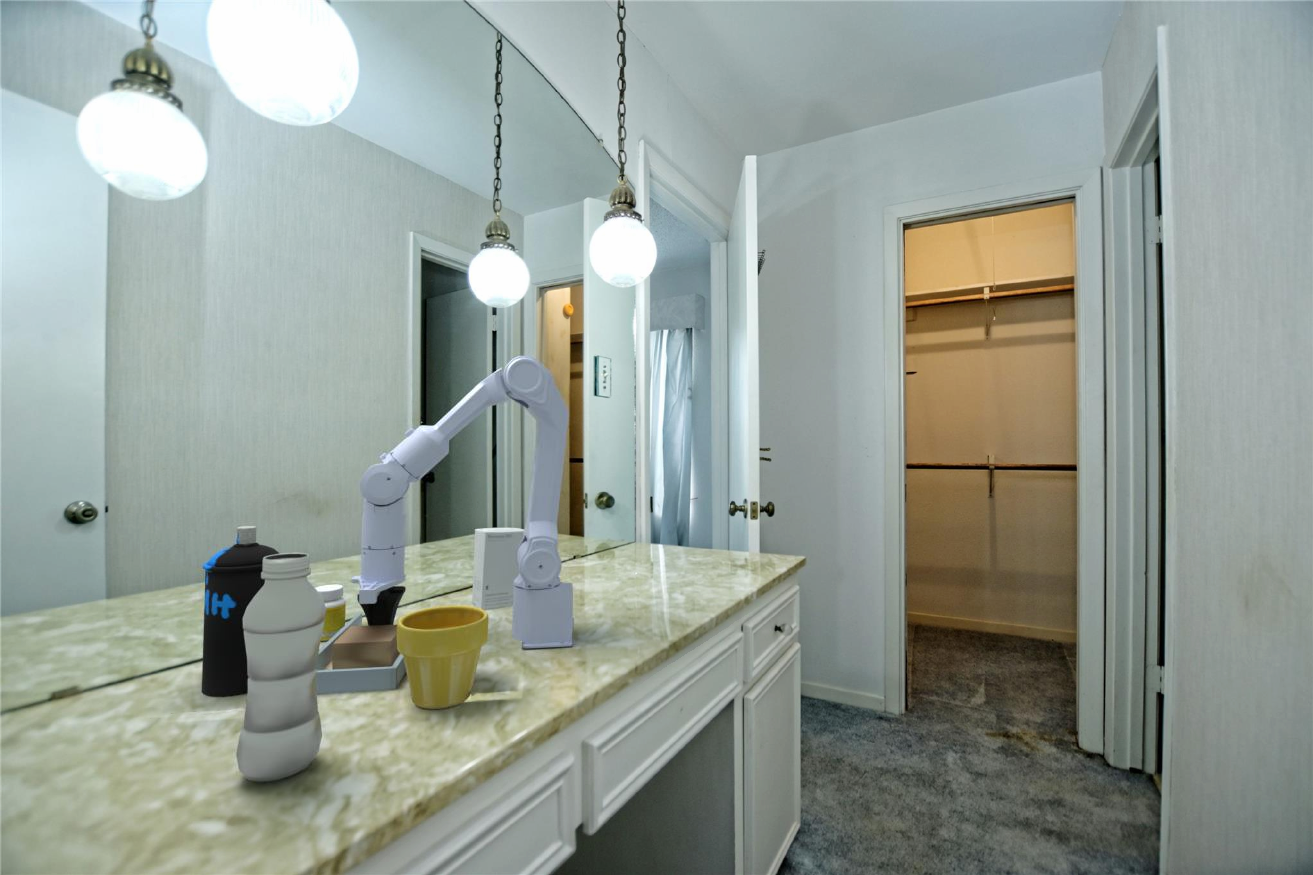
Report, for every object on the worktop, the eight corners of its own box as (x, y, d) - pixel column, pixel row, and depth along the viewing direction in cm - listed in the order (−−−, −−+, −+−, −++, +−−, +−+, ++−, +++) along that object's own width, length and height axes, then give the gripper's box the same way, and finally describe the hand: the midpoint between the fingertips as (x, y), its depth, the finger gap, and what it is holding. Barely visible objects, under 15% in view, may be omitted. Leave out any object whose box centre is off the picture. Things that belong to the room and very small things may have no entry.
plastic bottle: (262, 752, 55) (269, 549, 56) (334, 751, 56) (340, 550, 56) (217, 793, 49) (224, 563, 49) (299, 791, 50) (305, 564, 50)
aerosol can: (274, 671, 75) (278, 520, 75) (289, 692, 69) (293, 528, 69) (194, 689, 69) (199, 525, 69) (202, 713, 63) (208, 534, 63)
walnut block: (403, 648, 81) (403, 624, 81) (390, 667, 74) (391, 641, 74) (350, 651, 80) (350, 626, 80) (332, 670, 73) (332, 643, 73)
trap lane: (464, 630, 92) (465, 609, 92) (439, 694, 69) (439, 665, 69) (357, 635, 89) (358, 613, 89) (292, 703, 66) (293, 673, 66)
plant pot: (419, 677, 74) (421, 602, 74) (497, 680, 73) (499, 605, 73) (377, 715, 63) (379, 628, 63) (468, 719, 63) (470, 631, 63)
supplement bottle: (351, 638, 87) (353, 584, 87) (330, 649, 83) (332, 592, 83) (322, 637, 88) (324, 583, 88) (300, 647, 83) (302, 590, 83)
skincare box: (481, 616, 100) (483, 532, 100) (470, 607, 105) (472, 527, 105) (526, 609, 105) (527, 529, 105) (513, 601, 110) (515, 524, 110)
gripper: (369, 538, 88) (366, 624, 88) (335, 556, 74) (332, 660, 74) (416, 537, 90) (414, 623, 89) (392, 555, 75) (390, 657, 75)
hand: (380, 639), depth 82 cm, fingers closed
